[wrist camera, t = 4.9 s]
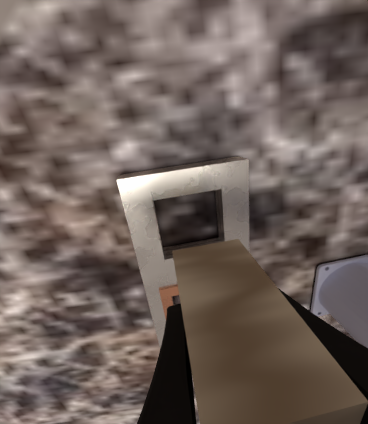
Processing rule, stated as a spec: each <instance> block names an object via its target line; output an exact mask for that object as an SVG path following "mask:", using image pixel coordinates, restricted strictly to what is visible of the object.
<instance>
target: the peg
mask: <svg viewBox="0 0 368 424" xmlns="http://www.w3.org/2000/svg"><path fill="white" fill-rule="evenodd" d="M172 253H173V259H174V265H175V272H176V278H177V284H178V290H179V296H180V302H181V309H182V315H183V321H184V327H185V333H186V339H187V345H188V352H189V358H190V364H191V370H192V376H193V382H194V389H195V395H196V401H197V407H198V413H199V419H200V424H360V422H361V420H362V417H363V415H364V412H365V409H366V407H367V404H368V400H367V399H366V398H365V397H364V395H363V394H362V393H361V392H360V390H359V389H358V388H357V387H356V385H355V384H354V383H353V382H352V380H351V379H350V378H349V377H348V375H347V374H346V373H345V372H344V370H343V369H342V368H341V367H340V365H339V364H338V363H337V362H336V360H335V359H334V358H333V357H332V355H331V354H330V353H329V352H328V350H327V349H326V348H325V347H324V345H323V344H322V343H321V342H320V340H319V339H318V338H317V337H316V335H315V334H314V333H313V332H312V330H311V329H310V328H309V327H308V325H307V324H306V323H305V322H304V320H303V319H302V318H301V317H300V315H299V314H298V313H297V312H296V310H295V309H294V308H293V307H292V305H291V304H290V303H289V302H288V300H287V299H286V298H285V297H284V295H283V294H282V293H281V292H280V290H279V289H278V288H277V287H276V285H275V284H274V283H273V282H272V280H271V279H270V278H269V277H268V275H267V274H266V273H265V272H264V270H263V269H262V268H261V267H260V265H259V264H258V263H257V262H256V260H255V259H254V258H253V257H252V255H251V254H250V253H249V252H248V250H247V249H246V248H245V247H244V245H243V244H242V243H241V242H240V240H239V239H234V240H229V241H223V242H218V243H213V244H207V245H202V246H196V247H191V248H185V249H180V250H174V251H172Z"/></svg>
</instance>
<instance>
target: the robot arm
mask: <svg viewBox="0 0 368 424" xmlns="http://www.w3.org/2000/svg"><path fill="white" fill-rule="evenodd" d="M279 290H280V289H279ZM280 292H281V293H282V294H283V295H284V297H285V298H286V299H287V300H288V302H289V303H290V304H291V305H292V307H293V308H294V309H295V310H296V312H297V313H298V314H299V315H300V317H301V318H302V319H303V320H304V322H305V323H306V324H307V325H308V327H309V328H310V329H311V330H312V332H313V333H314V334H315V335H316V337H317V338H318V339H319V340H320V342H321V343H322V344H323V345H324V347H325V348H326V349H327V350H328V352H329V353H330V354H331V355H332V357H333V358H334V359H335V360H336V362H337V363H338V364H339V365H340V367H341V368H342V369H343V370H344V372H345V373H346V374H347V375H348V377H349V378H350V379H351V380H352V382H353V383H354V384H355V385H356V387H357V388H358V389H359V390H360V392H361V393H362V394H363V395H364V397H365V398H366V399H367V400H368V255H363V256H359V257H354V258H349V259H344V260H340V261H335V262H330V263H325V264H321V265H319V266H318V267H317V271H316V278H315V285H314V291H313V298H312V305H311V312H310V311H309V310H307V309H306V308H304V307H303V306H302V305H300V304H299V303H298V302H296V301H295V300H293V299H292V298H291V297H289V296H288V295H287V294H285V293H284V292H283V291H281V290H280ZM326 314H331V315H332V316H333V317H334V318H335V319H336V320H337V322H338V323H339V324H340V325H341V326H342V327H343V328H344V329H345V330H346V331H347V332H348V333H349V334H350V335H351V336H352V337H353V338H354V339H355V340H356V341H357V342H356V341H355V340H353V339H351V338H350V337H348V336H346V335H345V334H343V333H342V332H340V331H339V330H337V329H335V328H334V327H332V326H331V325H329V324H328V323H326V322H325V321H323V320H322V319H320V318H319V317H318V316H322V315H326ZM137 424H196V415H195V404H194V392H193V381H192V370H191V364H190V358H189V352H188V345H187V339H186V333H185V327H184V321H183V315H182V309H181V304H177V305H173V306H169V307H168V308H167V316H166V324H165V330H164V336H163V340H162V345H161V349H160V353H159V357H158V361H157V364H156V368H155V372H154V375H153V379H152V382H151V385H150V388H149V391H148V394H147V397H146V400H145V403H144V406H143V409H142V412H141V414H140V417H139V420H138V422H137ZM360 424H368V404H367V407H366V409H365V412H364V415H363V417H362V420H361V422H360Z"/></svg>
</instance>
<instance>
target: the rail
mask: <svg viewBox="0 0 368 424" xmlns="http://www.w3.org/2000/svg"><path fill="white" fill-rule="evenodd" d="M117 184H118V188H119V192H120V196H121V199H122V203H123V207H124V211H125V215H126V219H127V222H128V226H129V230H130V234H131V238H132V242H133V246H134V249H135V253H136V257H137V261H138V265H139V269H140V272H141V276H142V280H143V284H144V288H145V292H146V296H147V299H148V303H149V307H150V311H151V315H152V319H153V322H154V326H155V330H156V334H157V338H158V342H159V346H160V349H161V345H162V340H163V336H164V330H165V324H166V316H167V308H168V307H169V306H173V305H174V300H173V296H176V295H179V290H178V284H177V278H176V272H175V265H174V259H173V253H172V251H174V250H180V249H185V248H191V247H196V246H202V245H207V244H213V243H218V242H223V241H229V240H234V239H239V240H240V242H241V243H242V244H243V245H244V247H245V248H246V249H247V250H248V252H249V159H247V158H243V157H240V156H236V157H230V158H224V159H217V160H211V161H204V162H198V163H191V164H185V165H179V166H172V167H166V168H159V169H153V170H146V171H140V172H134V173H127V174H121V175H120V176H119V177H118V178H117ZM213 190H215V196H216V210H217V223H218V238H212V239H207V240H202V241H196V242H191V243H186V244H181V245H175V246H170V247H165V248H163V244H162V239H161V234H160V229H159V224H158V219H157V214H156V208H155V203H154V200H159V199H165V198H171V197H177V196H183V195H189V194H195V193H201V192H207V191H213Z"/></svg>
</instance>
